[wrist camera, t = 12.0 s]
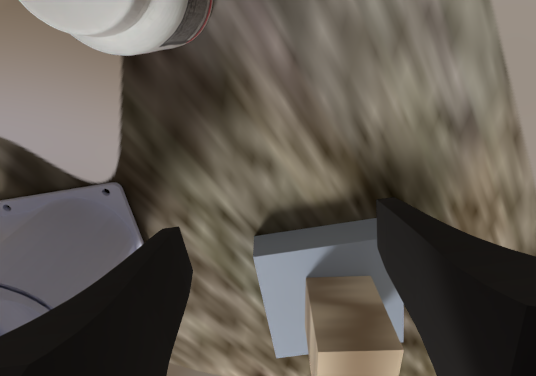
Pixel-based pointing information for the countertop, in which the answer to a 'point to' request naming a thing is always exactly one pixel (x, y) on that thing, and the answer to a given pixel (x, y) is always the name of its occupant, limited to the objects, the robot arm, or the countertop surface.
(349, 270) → the slate-blue block
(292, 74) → the countertop surface
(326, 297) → the maple cube
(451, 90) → the countertop surface
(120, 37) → the pill bottle
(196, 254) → the countertop surface
